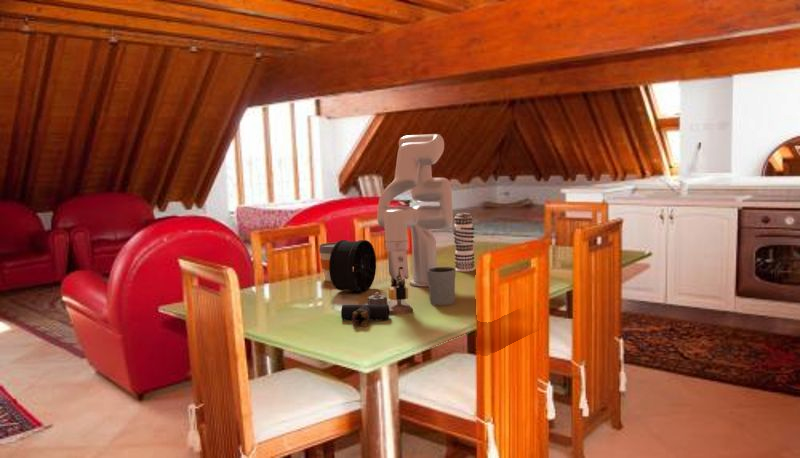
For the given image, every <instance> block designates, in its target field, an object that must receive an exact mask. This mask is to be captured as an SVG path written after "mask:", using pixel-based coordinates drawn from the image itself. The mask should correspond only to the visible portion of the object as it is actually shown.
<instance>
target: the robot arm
mask: <svg viewBox="0 0 800 458" xmlns="http://www.w3.org/2000/svg"><path fill="white" fill-rule="evenodd" d="M444 150H445V141H444V138H443V136H441V134H439V133H431V134H430V133H429V134H428V133H426V134H411V135H410V134H409V135H408V134H407V135H404V136H402V137H400V138H399V140H398V151H397V155H396V156H397V157H396V164H395V165H396V166H395V171H394V179H393V180H392V182H390V183H389V184H388V185H387V186H386V188H385V189H384V190H383V191H382V193H381V195H380V197H379V199H378V205H377V212H376V213H377V215H376V217H377V218H376V219H377V220H376V221H377V223H378V226H380V227H381V228H383V229H384V239H385V251H386V252H388V275H389V276H390V277H391V278H390V282H391V284H390V286H391V287H393V286H394V287H396V286H397V288H396V299H397V300H401V299H405V300H406V287H407V286H406V280H408V279H409V277H410V276H409V265H408V255H407V250H408V247H409V246H408V229H410V232H411V248H412V273H413V274H412V275H413V278H412V279H410V281H409V284H410V286H413V287H429V282H428V275H427V270H428V269H430V268H435V267H437V265H438V264H437V242H436V237H435V236H434V234H433V233H432V232H431V230H448V229H450V228H451V227H452V225H453V220H454V219H453V218H454V217H453V216H454V215H453V212H454V210H453V193H452V192H453V191H452V186H451V183H450V180H449V179H448V178H446V177H433V176H432V175H433V174H432V173H433V172H432V165H435V164H436V163H437V162H438V161H439V160H440V158H441V156H442V155H443V154H444ZM408 191H410V192H411V193H410V194H411V198H412V200H413V201H415V202H417V203H438V204H437V205H435V204H434V205H431V204H427V205H425V204H424V205H423V204H419V205H415V206H413V207H412V206H389V205H390V203H391V202H392V200H394V199H395V198H396V197H398V196H399V195H401V194H403V193H406V192H408ZM405 286H406V287H405ZM391 287H390V288H391Z"/></svg>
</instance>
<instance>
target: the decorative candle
mask: <svg viewBox="0 0 800 458" xmlns="http://www.w3.org/2000/svg"><path fill="white" fill-rule="evenodd" d="M453 218H454V228H453V235H454V237H453V238H454V240H453V242H454V245H455V251H454V252H455V254H454V260H455V262H454V264H455V265H454V267H455V269H456V271H457V272H472V271H475V260H474V259H475V257H474V256H475V254H474V244H475V243H474V242H475V241H474V240H473V239H474V238H475V236H474V234H475V232H474V230H475V227H474V225H473V216H472V215H471V214H470V213H469V212H459V213H458V212H457V214H455V216H454V217H453ZM456 271H455V272H456Z"/></svg>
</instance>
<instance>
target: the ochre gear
mask: <svg viewBox="0 0 800 458" xmlns="http://www.w3.org/2000/svg"><path fill="white" fill-rule="evenodd" d="M405 287H406V299H409V288H408V287H407V286H406V285H405ZM396 288H397V286H396V287H394V286H393V287H388V300H390V301H398V300H397V299H396ZM406 299H401V300H404V301H405V300H406Z"/></svg>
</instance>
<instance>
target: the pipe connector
mask: <svg viewBox="0 0 800 458" xmlns="http://www.w3.org/2000/svg"><path fill="white" fill-rule="evenodd" d="M340 315H341V320H342V321H352V326H353V327H359V326H360V327H366V326H367V325H368V324H369V321H388V320H389V319H390V315H389V305H365V304H343V305H342V306H341V310H340Z"/></svg>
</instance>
